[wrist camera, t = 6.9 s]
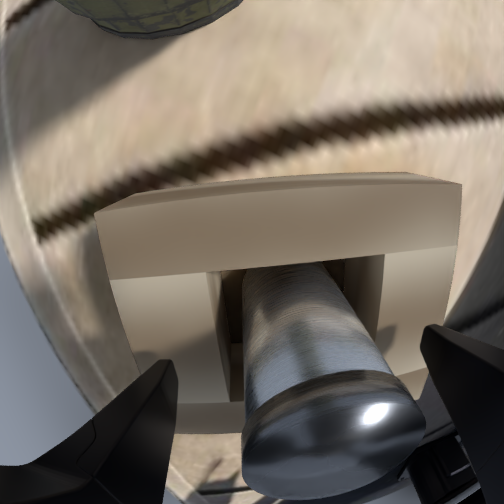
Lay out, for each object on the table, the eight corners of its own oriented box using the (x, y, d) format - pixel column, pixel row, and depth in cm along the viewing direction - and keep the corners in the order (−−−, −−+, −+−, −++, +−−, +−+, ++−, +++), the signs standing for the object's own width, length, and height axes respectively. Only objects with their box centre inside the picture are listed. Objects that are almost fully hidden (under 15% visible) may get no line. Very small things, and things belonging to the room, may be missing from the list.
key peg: (329, 321, 14) (398, 477, 6) (244, 331, 14) (250, 506, 6) (330, 240, 13) (450, 379, 4) (234, 249, 13) (228, 424, 4)
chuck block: (389, 352, 15) (419, 398, 11) (178, 377, 15) (166, 433, 11) (407, 172, 12) (461, 184, 8) (135, 193, 12) (94, 213, 8)
